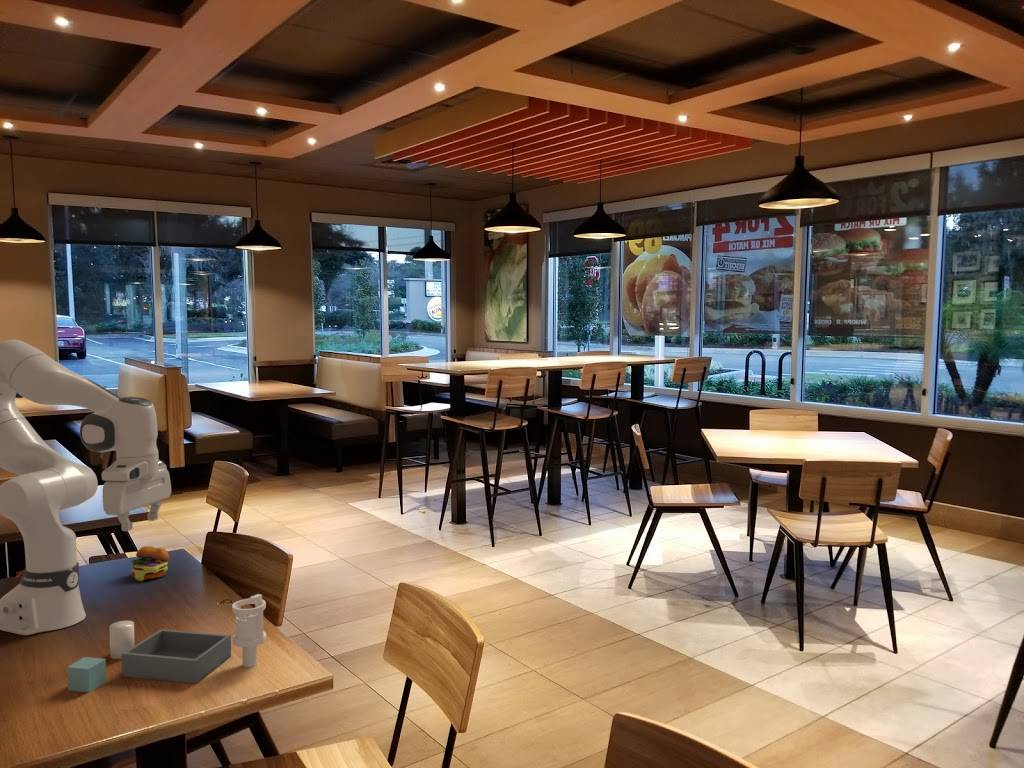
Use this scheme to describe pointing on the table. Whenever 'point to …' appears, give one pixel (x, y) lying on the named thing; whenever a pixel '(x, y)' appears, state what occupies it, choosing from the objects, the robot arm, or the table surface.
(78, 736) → the table surface
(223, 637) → the tote
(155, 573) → the cheeseburger
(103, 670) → the teal cube
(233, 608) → the grey slotted cylindrical housing
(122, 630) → the cream capsule
